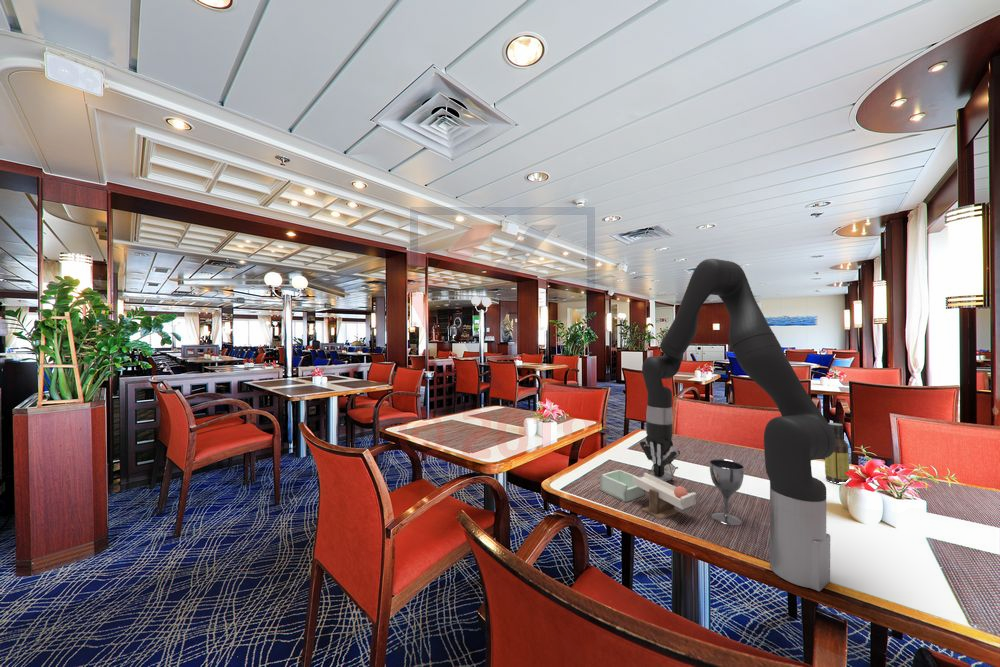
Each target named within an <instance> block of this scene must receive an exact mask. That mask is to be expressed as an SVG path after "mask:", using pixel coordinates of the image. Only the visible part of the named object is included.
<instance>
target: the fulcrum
mask: <svg viewBox="0 0 1000 667" xmlns="http://www.w3.org/2000/svg"><path fill="white" fill-rule="evenodd" d="M674 507H675V506H674V505H672V504H670V503H669V502H667V501H665V500H663V499H661V498H659V492H657V491H654V490H652V489H650V490H649V492H648V506H646V507H643V508H641V512H643V513H645V514H647V515H649V516H651V517H654V518H656V519H658V520H659V521H662V520H664V519H666V518H669V517H672V516H673V515H676V514H678V513H680V512H679V511H677V510H675V509H674Z"/></svg>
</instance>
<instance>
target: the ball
mask: <svg viewBox="0 0 1000 667" xmlns="http://www.w3.org/2000/svg"><path fill="white" fill-rule="evenodd" d="M675 487H676V488H675V490H674V494H675V496H676V497H677V498H679V499H680V498H681V497H682V496H685V495H687V494H688V493H689V492H688V490H687V489H686V487H684V486H682V485H678V486H675Z"/></svg>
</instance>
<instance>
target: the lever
mask: <svg viewBox="0 0 1000 667" xmlns="http://www.w3.org/2000/svg"><path fill="white" fill-rule="evenodd" d="M635 476H636V475H635ZM635 476H632V484H634V485H636V486H638V487H640V488H641V489H643V490H645V492H647V493H649V490H650V489H652V490H654V491H657V492H659V498H661V499H663V500H665V501H667V502H669V503H670V504H672V505H674V506H675V507H674V509H675V510H677V511H679V512H678V513H684V512H686V511H688V510H690V509H692V508H693V506H694V505H696V500H697V493H696V492H694V491H692V492H688V494H687V495H685V496H682V497H681V498H680V499H679V498H677V497H676V496H675V494H674V490H675V488H676V487H677V486H675V485H673V484H670V483H668V482H667V481H671V479H672V480H673V479H674V477H673V476H674V475H673V476H671V475H669V474H667V473H665V472H664V475H663V476H662V477H657V476H655V474H653V473H652V474H649V473H647V472H643V476H641V477H640V478H637V477H638V476H637V477H635Z"/></svg>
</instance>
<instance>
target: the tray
mask: <svg viewBox="0 0 1000 667" xmlns="http://www.w3.org/2000/svg"><path fill="white" fill-rule="evenodd" d="M599 476H600V477H599V480H600V481H599V484H600V485H599V486H600V490H599V491H601V492H602V493H604V494H607V495H609V496H612V497H613V498H616V499H617V500H620V501H622V502H624V503H628V502H631V501H634V500H636V499H639V498H641V497H644V496H646V495H645V494H646V491H645V490H643V489H641V488H640V487H638V486H636V485H634V484H632V476H635V477H637V478H641V477H640V476H637V475H634V474H631V473H629V472H627V471H624V470H621V469H615V470H613V471H609V472H606V473H602V474H599Z"/></svg>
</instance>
